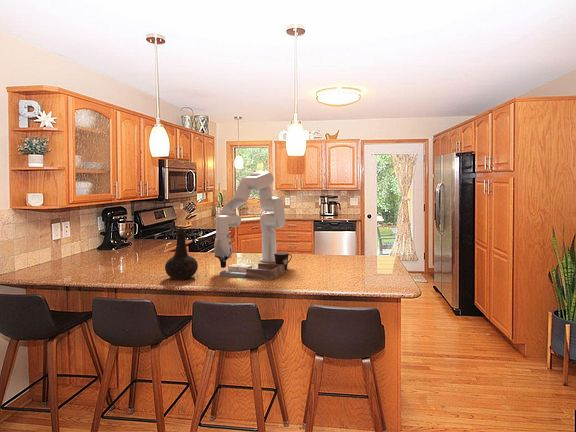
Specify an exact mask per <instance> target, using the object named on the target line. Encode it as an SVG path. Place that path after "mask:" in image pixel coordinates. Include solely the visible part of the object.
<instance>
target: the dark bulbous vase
mask: <svg viewBox="0 0 576 432" xmlns="http://www.w3.org/2000/svg"><path fill="white" fill-rule="evenodd" d="M175 232H176V244H175V245H176V246H175V251H174V254H173V256H172V257H170V258H169V259H168V260H166V263H165V264H164V270H165V271H164V272H165V273H166V274H167V276H168V277H169V278H171V279H173V280H187V279H190V278H193V277H194V276H195V274H196V273H197V271H198V268H199V266H198V265H199V264H198V261H197V260H196V258H195V257H192V256H190V255H189V254H188V251H187V244H186V233H187V231H186V229H185V227H184V228H181V227H180V228H177V229H176V231H175Z"/></svg>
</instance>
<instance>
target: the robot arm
mask: <svg viewBox="0 0 576 432" xmlns="http://www.w3.org/2000/svg"><path fill="white" fill-rule="evenodd" d="M274 179H275V178H274V175H273V173H272V172H268V171H254V172H251V173H250V174H249V175H248V176H244V177H241V178H240V181H239V183H238V186H237V187H236V190H235V192H234V195H233V197H231V198H230V200H228V201H227V202H226V203H225V204H224V205H223V207H221V210H220V213H219V215H216V217H215V239H214V245H213V252H214V258H217V259H218V260H219V263H220V268H221V269H224V268H226V266H227V261H228V259H231V258H232V256H233V245H232V240H231V237H232V235H231V234H230V229H229V228H237V227H239V226H240V225H241V223H242V218H241V216H240V215H238V214H235V213H234V214H233V213H232V212H233V211H234V210H236V209H237V208H239V207H242V206H243V205H245V204H246V203H247V202H248V199H249V196H250V193H251V192H252V191H257V192H258V196H259V204H260V209H261V210H262V211H263V212H264V213H262V214H261V215H260V217H259V224H260V228H261V256H262V257H260V258H259V261H260V262H262V263H273V262H274V263H275V255H274V253H277V232H276V229H281V228H283V227H284V226H285V225H286V213H285V204H284V200H283V199H282V198H281V197H278V196H273V191H272V187H271V185H272V184H273V182H274Z"/></svg>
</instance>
